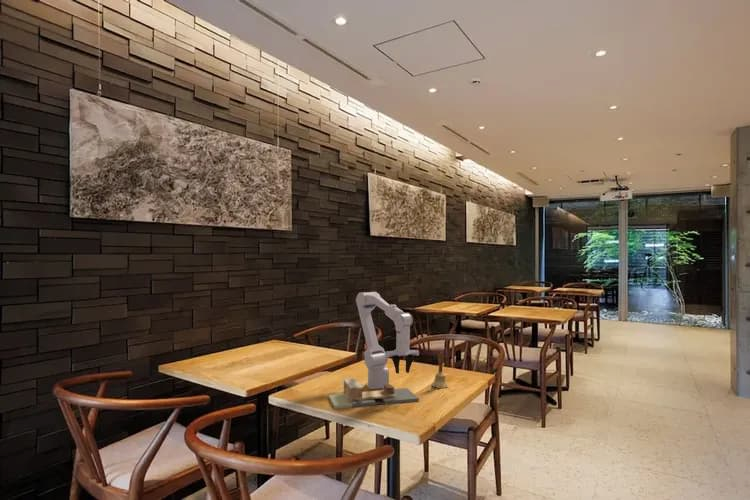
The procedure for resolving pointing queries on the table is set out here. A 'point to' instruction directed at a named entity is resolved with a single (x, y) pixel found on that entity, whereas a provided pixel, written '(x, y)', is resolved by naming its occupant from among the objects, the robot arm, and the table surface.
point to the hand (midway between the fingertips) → (402, 372)
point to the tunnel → (353, 385)
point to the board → (400, 397)
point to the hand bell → (440, 375)
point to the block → (355, 392)
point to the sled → (377, 393)
